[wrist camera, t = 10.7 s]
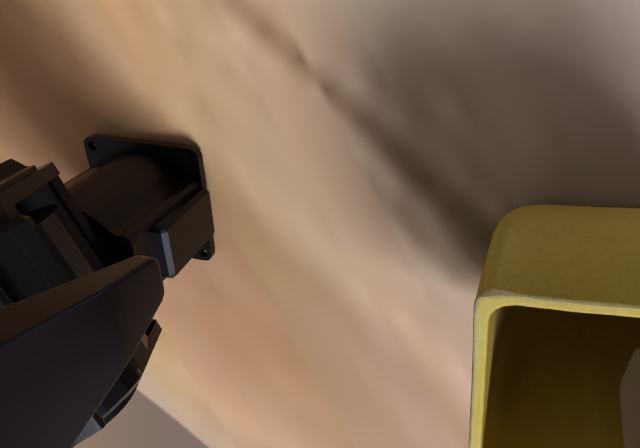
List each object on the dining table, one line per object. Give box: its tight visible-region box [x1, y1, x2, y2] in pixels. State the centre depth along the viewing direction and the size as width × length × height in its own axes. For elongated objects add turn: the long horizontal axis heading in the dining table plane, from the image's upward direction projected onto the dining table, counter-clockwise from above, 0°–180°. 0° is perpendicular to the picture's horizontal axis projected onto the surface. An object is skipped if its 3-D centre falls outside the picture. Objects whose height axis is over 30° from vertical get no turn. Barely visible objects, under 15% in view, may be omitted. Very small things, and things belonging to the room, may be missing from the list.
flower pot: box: [469, 205, 640, 448], centre depth 18 cm, size 9×9×9 cm
